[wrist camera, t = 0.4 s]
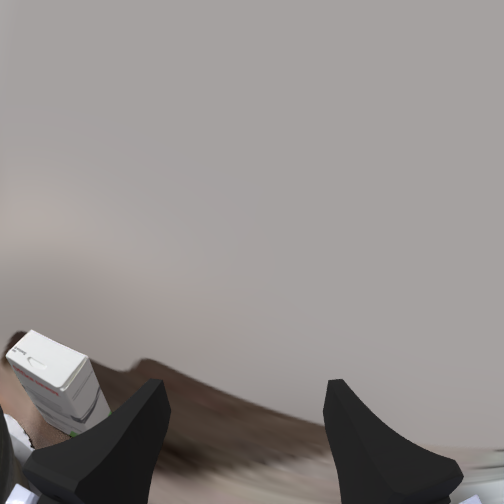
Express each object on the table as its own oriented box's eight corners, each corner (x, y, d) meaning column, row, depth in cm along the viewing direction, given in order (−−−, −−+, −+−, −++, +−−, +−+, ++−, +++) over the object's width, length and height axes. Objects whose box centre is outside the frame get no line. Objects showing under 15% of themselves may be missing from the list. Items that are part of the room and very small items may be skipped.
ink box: (117, 421, 26) (91, 353, 21) (100, 452, 22) (63, 391, 17) (62, 395, 27) (30, 326, 22) (44, 421, 23) (2, 354, 18)
